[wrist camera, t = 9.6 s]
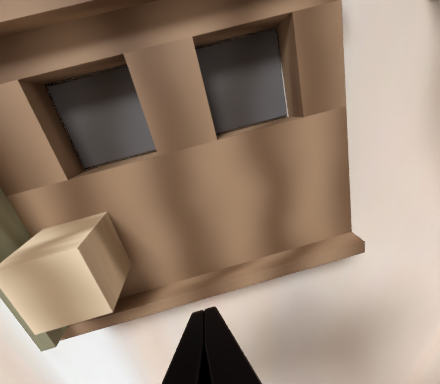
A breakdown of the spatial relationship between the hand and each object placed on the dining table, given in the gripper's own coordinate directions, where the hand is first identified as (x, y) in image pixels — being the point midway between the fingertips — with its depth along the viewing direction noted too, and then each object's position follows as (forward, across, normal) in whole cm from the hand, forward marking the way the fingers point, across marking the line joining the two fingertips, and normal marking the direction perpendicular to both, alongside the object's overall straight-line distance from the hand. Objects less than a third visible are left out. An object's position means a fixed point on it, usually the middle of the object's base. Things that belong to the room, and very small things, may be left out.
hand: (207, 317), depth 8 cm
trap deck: (+12, 0, -3) cm, 12 cm away
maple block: (+9, +8, +1) cm, 12 cm away
